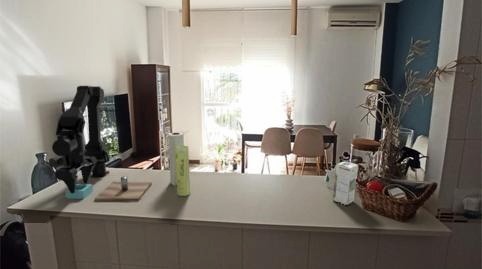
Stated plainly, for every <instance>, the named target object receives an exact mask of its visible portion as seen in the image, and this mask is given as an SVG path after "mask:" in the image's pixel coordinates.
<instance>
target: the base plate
mask: <svg viewBox="0 0 482 269" xmlns="http://www.w3.org/2000/svg"><path fill="white" fill-rule="evenodd" d="M152 184H153V183H152V181H151V182H150V181H149V182H148V181H128V190H127V191H122V188H121V181H112V182H111V183H110V184H108V186H107V187H106V188H104V189H103V190H102V191H101V192H100V193H98V195H96V196H95V197H94V201H96V202H139V201H140V200H141V199H142V198H143V196H144V195H145V194H146V192H148V190H149V189H150V188H151V186H152Z"/></svg>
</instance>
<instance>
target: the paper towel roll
mask: <svg viewBox="0 0 482 269" xmlns="http://www.w3.org/2000/svg"><path fill="white" fill-rule="evenodd" d="M184 142H185V141H184V133H183V132H176V131H175V132H170V133H168V155H169V156H168V157H169V158H168V159H169V161H168V162H169V173H170V174H169V176H170V178H169V180H170V181H169V182H170V184H171V185H172V186H174V187H176V186H177V176H176V155H175V144H179V145H183V146H185V145H184V144H185V143H184Z"/></svg>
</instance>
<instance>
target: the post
mask: <svg viewBox="0 0 482 269" xmlns="http://www.w3.org/2000/svg"><path fill="white" fill-rule="evenodd" d="M120 182H121V188H122V191H127V190H128V182H129V181H128V176H122V177H120Z"/></svg>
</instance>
